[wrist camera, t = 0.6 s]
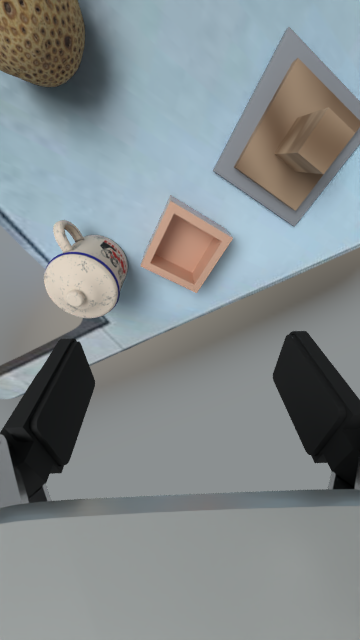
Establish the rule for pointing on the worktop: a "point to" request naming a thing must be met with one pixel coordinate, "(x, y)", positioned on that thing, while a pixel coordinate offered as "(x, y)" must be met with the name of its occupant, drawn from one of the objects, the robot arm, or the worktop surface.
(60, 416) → the robot arm
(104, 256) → the teacup with lid
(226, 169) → the mat
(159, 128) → the worktop surface
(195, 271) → the dish
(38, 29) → the natural sponge
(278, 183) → the lid
